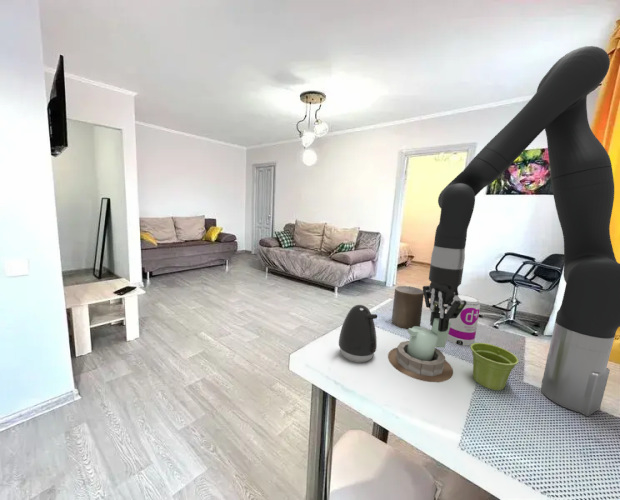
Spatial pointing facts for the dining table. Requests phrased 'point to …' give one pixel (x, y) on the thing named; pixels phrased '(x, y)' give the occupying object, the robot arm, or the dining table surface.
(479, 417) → the dining table surface
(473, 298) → the supplement can
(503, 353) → the plant pot
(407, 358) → the stone ring brown dish
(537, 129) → the robot arm
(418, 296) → the pillar candle
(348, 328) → the dark rounded figure
